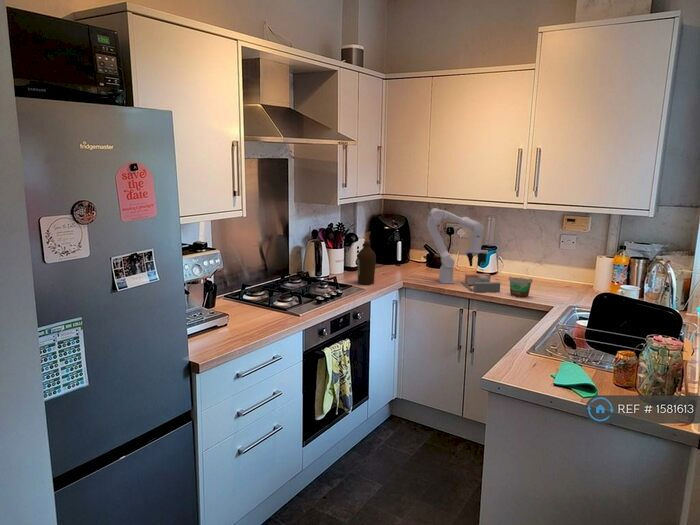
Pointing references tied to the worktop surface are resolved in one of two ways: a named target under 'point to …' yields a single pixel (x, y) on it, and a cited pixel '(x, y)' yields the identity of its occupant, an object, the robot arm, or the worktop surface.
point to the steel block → (482, 278)
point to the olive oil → (366, 264)
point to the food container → (520, 286)
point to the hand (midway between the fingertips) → (474, 265)
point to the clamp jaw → (474, 278)
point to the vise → (484, 287)
